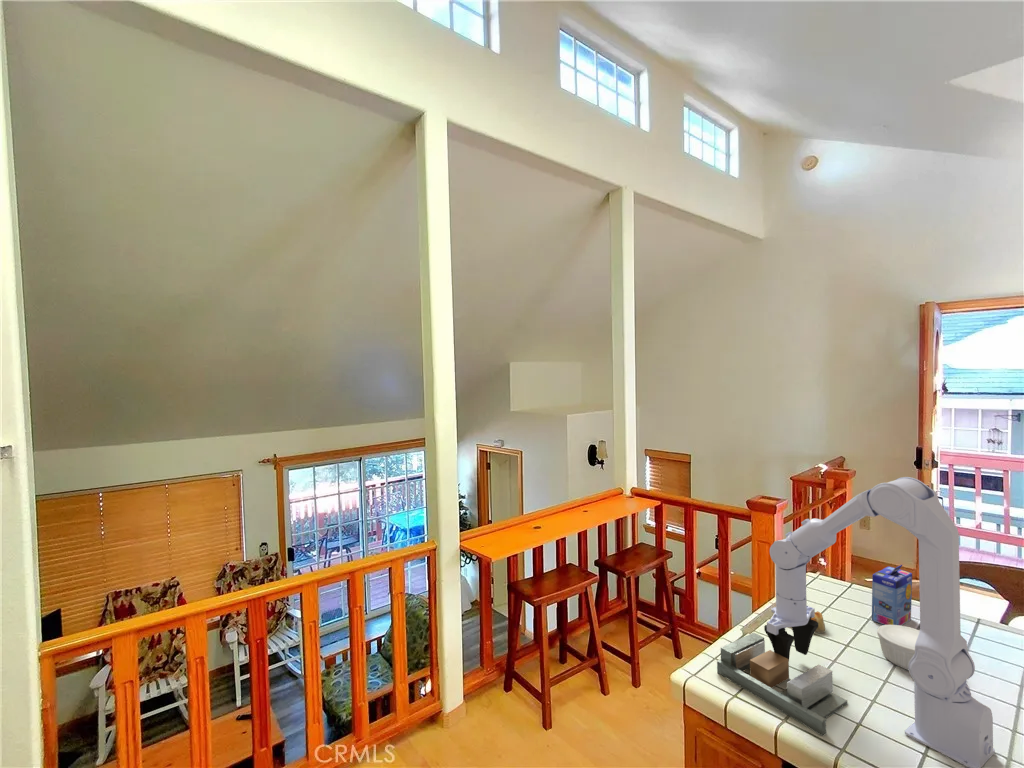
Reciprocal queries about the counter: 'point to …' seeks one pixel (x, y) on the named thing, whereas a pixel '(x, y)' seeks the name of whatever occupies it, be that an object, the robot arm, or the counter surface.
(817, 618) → the pastry
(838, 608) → the counter surface
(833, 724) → the counter surface
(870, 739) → the counter surface
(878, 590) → the ink cartridge box
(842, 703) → the vise body
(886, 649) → the ramekin
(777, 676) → the block
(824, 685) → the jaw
